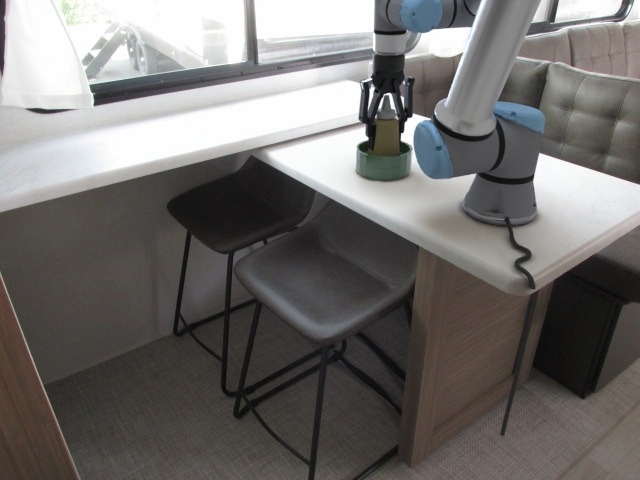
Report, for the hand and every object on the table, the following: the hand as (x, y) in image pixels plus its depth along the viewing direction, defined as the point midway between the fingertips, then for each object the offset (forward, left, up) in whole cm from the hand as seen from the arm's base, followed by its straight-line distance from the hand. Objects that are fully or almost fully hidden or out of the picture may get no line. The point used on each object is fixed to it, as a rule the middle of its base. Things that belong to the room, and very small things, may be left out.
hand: (384, 147), depth 131 cm
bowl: (0, 0, -7) cm, 7 cm away
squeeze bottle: (0, 0, -5) cm, 5 cm away
